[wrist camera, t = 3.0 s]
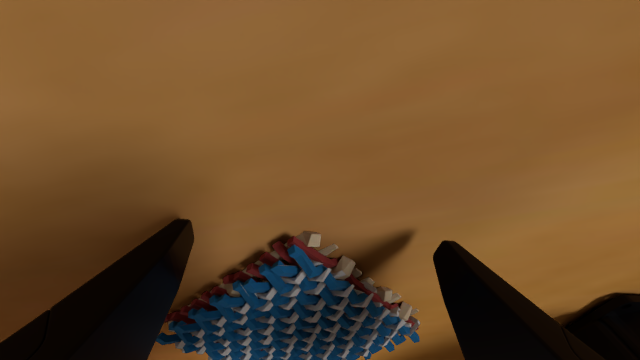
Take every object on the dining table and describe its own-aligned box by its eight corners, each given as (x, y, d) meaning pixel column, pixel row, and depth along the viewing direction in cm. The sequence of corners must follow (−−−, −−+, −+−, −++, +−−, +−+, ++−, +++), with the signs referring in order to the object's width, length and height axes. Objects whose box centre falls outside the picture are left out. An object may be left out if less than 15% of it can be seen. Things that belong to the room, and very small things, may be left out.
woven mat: (296, 356, 18) (295, 391, 17) (163, 305, 13) (143, 347, 12) (422, 304, 15) (436, 341, 13) (305, 208, 10) (305, 249, 8)
